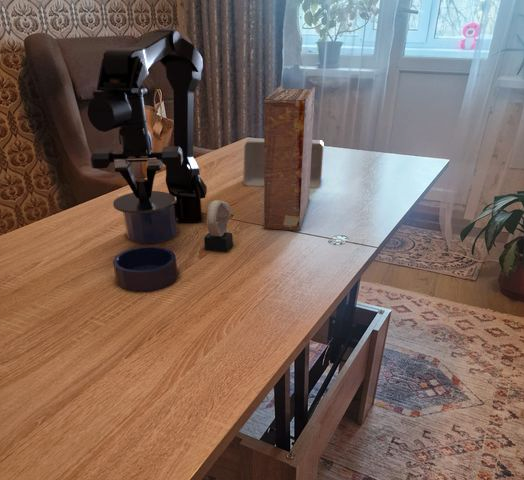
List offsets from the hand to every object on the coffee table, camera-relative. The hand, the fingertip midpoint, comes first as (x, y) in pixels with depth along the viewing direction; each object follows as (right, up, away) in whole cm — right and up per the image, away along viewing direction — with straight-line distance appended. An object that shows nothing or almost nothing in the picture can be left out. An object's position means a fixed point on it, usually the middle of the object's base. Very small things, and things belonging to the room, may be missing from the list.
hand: (144, 197), depth 108 cm
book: (+34, +4, +26) cm, 43 cm away
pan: (+2, -19, -6) cm, 20 cm away
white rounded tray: (+34, +23, +53) cm, 67 cm away
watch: (+16, -10, +8) cm, 20 cm away
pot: (-1, -4, +15) cm, 16 cm away
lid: (0, -1, +1) cm, 1 cm away
